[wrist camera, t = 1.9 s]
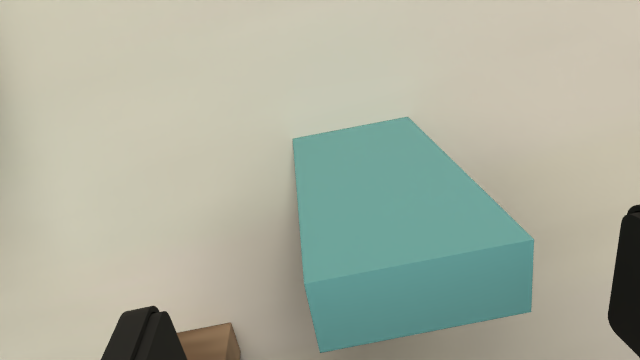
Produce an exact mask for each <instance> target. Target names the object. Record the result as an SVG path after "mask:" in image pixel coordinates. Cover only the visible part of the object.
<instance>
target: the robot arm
mask: <svg viewBox="0 0 640 360" xmlns="http://www.w3.org/2000/svg"><path fill="white" fill-rule="evenodd" d="M608 320H609V323H610V326H611V328H612V329H613V331H614V332H615V333H616V334H617V335H618V336H619V337H620V338H621V339H622V340H623V341H624V342H625V343H626V344H627V345H628V346H629V347H630V348H631V349H632V350H633V351H634V352H635V353H636V354H637V355H638V356H639V357H640V205H635V206H633V207H631V208H630V209H629V211H628V213H627V215H625V216H624V217H623V219H622V222H621V229H620V235H619V242H618V249H617V256H616V263H615V270H614V277H613V283H612V290H611V297H610V304H609V311H608ZM101 360H187V357H186V355H185V352H184V350H183V347H182V345H181V343H180V340H179V338H178V335H177V333H176V331H175V328H174V326H173V323H172V321H171V318H170V316H169V314H168V313H167V312H166V311H163V312H159V310H158V308H156V307H155V306H150V307H145V308H140V309H136V310H131V311H126V312H124V313H123V314H122V315H121V317H120V319H119V321H118V323H117V325H116V328H115V330H114V332H113V334H112V336H111V339H110V341H109V343H108V345H107V347H106V350H105V352H104V354H103V356H102V358H101Z"/></svg>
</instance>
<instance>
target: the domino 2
mask: <svg viewBox="0 0 640 360" xmlns="http://www.w3.org/2000/svg"><path fill="white" fill-rule="evenodd" d="M293 149H294V161H295V174H296V187H297V200H298V213H299V225H300V238H301V251H302V264H303V276H304V286H305V290H306V294H307V299H308V303H309V307H310V312H311V316H312V320H313V325H314V329H315V333H316V338H317V342H318V346H319V351H320V353H322V352H327V351H333V350H338V349H343V348H348V347H353V346H358V345H363V344H369V343H374V342H379V341H384V340H389V339H394V338H399V337H405V336H410V335H415V334H420V333H425V332H430V331H435V330H440V329H446V328H451V327H456V326H461V325H466V324H471V323H476V322H482V321H487V320H492V319H497V318H502V317H507V316H512V315H517V314H523V313H528V312H531V303H532V276H533V250H534V239H533V238H532V237H531V236H530V235H529V234H528V233H527V232H526V231H525V230H524V229H523V228H522V227H521V226H520V225H519V224H518V223H517V222H515V221H514V220H513V219H512V218H511V217H510V216H509V215H508V214H507V213H506V212H505V211H504V210H503V209H502V208H501V207H500V206H499V205H498V204H497V203H496V202H495V201H494V200H493V199H492V198H491V197H490V196H489V195H488V194H487V193H486V192H485V191H484V190H483V189H482V188H481V187H479V186H478V185H477V184H476V183H475V182H474V181H473V180H472V179H471V178H470V177H469V176H468V175H467V174H466V173H465V172H464V171H463V170H462V169H461V168H460V167H459V166H458V165H457V164H456V163H455V162H454V161H453V160H452V159H451V158H450V157H449V156H448V155H447V154H446V153H445V152H443V151H442V150H441V149H440V148H439V147H438V146H437V145H436V144H435V143H434V142H433V141H432V140H431V139H430V138H429V137H428V136H427V135H426V134H425V133H424V132H423V131H422V130H421V129H420V128H419V127H418V126H417V125H416V124H415V123H414V122H413V121H412V120H411V119H410V118H409V117H404V118H399V119H394V120H389V121H383V122H378V123H373V124H368V125H362V126H357V127H352V128H347V129H342V130H336V131H331V132H326V133H321V134H315V135H310V136H305V137H300V138H295V139H293Z"/></svg>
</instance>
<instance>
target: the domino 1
mask: <svg viewBox="0 0 640 360" xmlns="http://www.w3.org/2000/svg"><path fill="white" fill-rule="evenodd" d="M177 335H178V338H179V340H180V343H181V345H182V347H183V350H184V352H185V355H186V357H187V360H240V352H241V351H240V348H239V345H238V342H237V339H236V336H235V333H234V330H233V327H232V324H231V323H226V324H221V325H216V326H211V327H206V328H200V329H195V330H190V331H185V332H180V333H177Z"/></svg>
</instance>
